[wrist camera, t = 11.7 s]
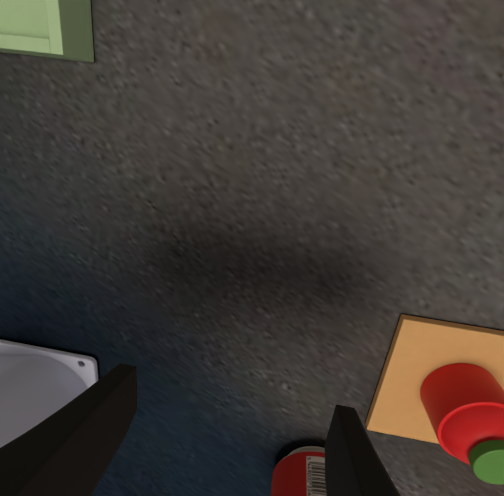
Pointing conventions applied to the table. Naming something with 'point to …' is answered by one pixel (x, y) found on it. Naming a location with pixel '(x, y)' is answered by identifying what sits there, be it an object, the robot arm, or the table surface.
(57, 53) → the tray
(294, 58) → the table surface
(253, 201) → the table surface
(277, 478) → the beverage can
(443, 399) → the red cylinder green cap
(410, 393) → the mat
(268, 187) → the table surface
